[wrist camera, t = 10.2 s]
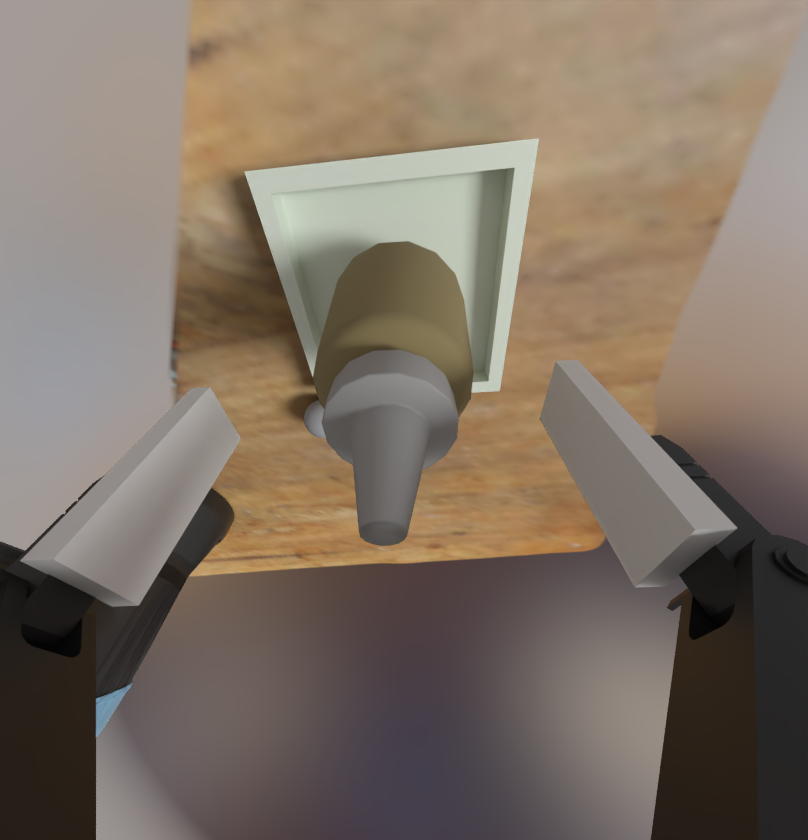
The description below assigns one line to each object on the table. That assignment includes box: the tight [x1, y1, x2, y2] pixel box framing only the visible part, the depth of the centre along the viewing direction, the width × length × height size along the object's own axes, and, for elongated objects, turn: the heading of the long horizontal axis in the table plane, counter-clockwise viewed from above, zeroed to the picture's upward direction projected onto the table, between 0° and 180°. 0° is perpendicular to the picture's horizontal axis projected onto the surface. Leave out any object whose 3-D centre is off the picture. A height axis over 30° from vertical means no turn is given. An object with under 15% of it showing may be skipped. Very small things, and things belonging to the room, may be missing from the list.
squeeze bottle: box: [313, 241, 474, 546], centre depth 14 cm, size 8×8×18 cm
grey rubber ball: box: [304, 400, 326, 438], centre depth 27 cm, size 4×4×4 cm
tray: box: [245, 138, 539, 393], centre depth 21 cm, size 15×15×2 cm
